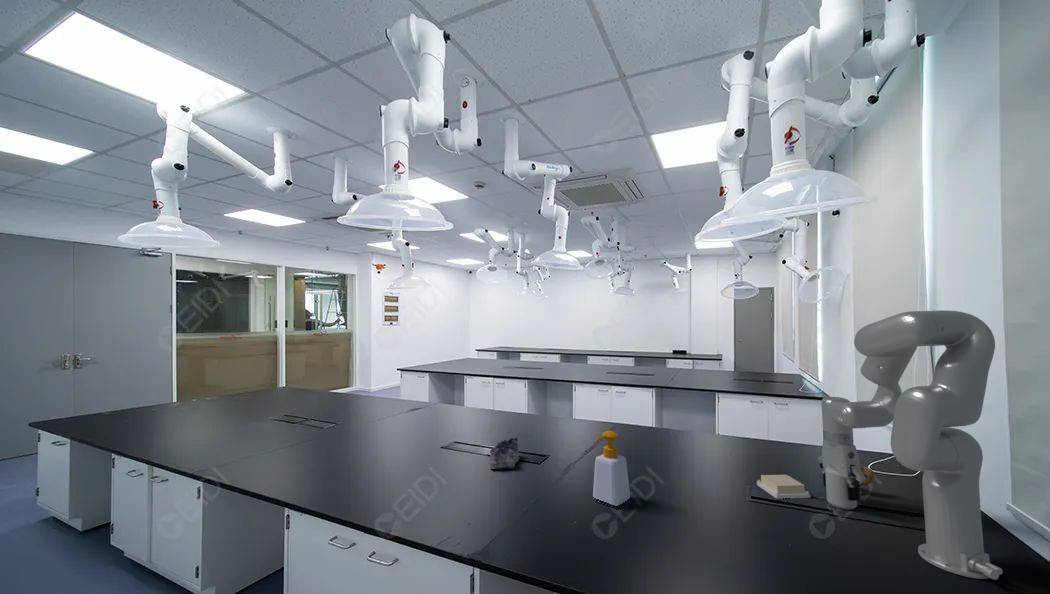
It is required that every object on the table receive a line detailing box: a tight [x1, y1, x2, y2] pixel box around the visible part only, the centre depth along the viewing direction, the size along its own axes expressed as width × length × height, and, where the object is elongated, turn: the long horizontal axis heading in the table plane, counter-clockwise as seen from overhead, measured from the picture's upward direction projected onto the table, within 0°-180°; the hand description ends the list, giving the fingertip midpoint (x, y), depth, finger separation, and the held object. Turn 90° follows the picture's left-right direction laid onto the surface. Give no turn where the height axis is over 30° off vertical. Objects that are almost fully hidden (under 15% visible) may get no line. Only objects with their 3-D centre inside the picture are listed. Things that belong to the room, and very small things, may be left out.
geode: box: [488, 437, 520, 470], centre depth 168 cm, size 20×12×10 cm, turn 168°
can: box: [825, 465, 858, 511], centre depth 126 cm, size 8×8×12 cm
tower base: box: [756, 474, 811, 500], centre depth 137 cm, size 11×11×4 cm
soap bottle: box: [592, 430, 631, 507], centre depth 131 cm, size 10×14×22 cm
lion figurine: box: [859, 466, 876, 496], centre depth 137 cm, size 15×5×9 cm, turn 34°
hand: (841, 493), depth 126 cm, fingers open, 9 cm apart
